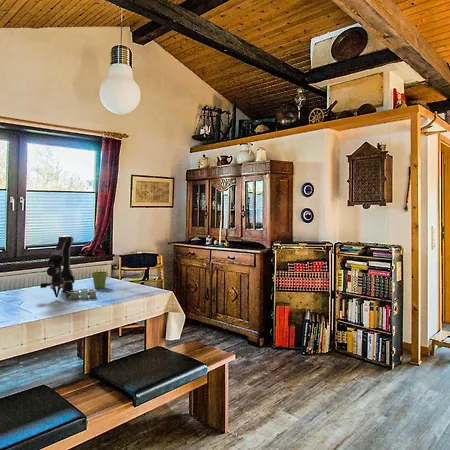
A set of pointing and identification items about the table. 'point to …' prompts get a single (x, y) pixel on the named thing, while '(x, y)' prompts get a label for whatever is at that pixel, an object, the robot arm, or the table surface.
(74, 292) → the cradle rig
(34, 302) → the table surface
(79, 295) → the shaft
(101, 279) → the plant pot
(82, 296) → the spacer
